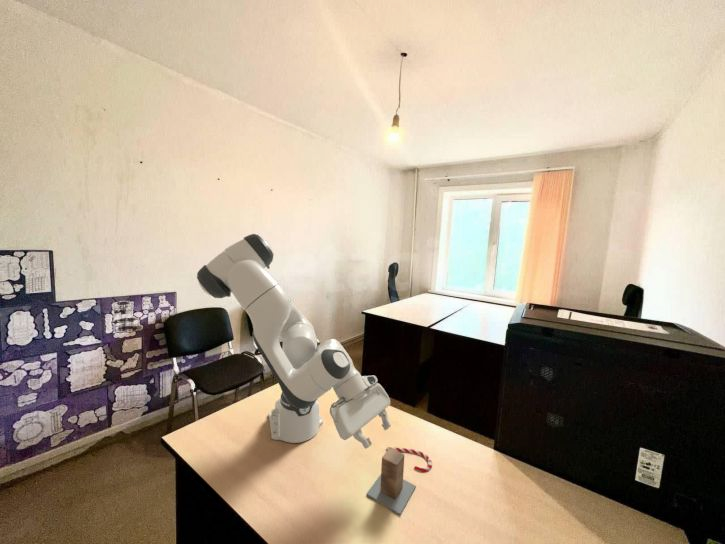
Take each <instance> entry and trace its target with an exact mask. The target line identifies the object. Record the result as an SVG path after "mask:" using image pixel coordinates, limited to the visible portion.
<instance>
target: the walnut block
mask: <svg viewBox="0 0 725 544" xmlns="http://www.w3.org/2000/svg"><path fill="white" fill-rule="evenodd" d="M380 469H381V470H380V471H381V472H380V474H381V487H380V491H381V492H382V493H384V494H386V495H387V496H389V497H391V498H393V499H394V500H395V499H396V498H397V496H398V495H399V493H400V491H401V490H402V488H403V479H404V473H405V472H404V469H405V453H403V452H398V451H396V450H394V449H392V448H389V449H388V451H387V450H386V452H385V453H384V454H383V455H382V456H381V468H380Z"/></svg>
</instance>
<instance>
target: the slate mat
mask: <svg viewBox="0 0 725 544" xmlns="http://www.w3.org/2000/svg"><path fill="white" fill-rule="evenodd" d="M380 487H381V473H380V475H379V476H378V477H377V479H376V480H375V481H374V483H373V484H372V485H371V487H370V488H369V489H368V491H367V492H366V496H367V497H369V498H371V499H372V500H374V501H375V502H377V503H379V504H381V506H384V507H386V508H387V509H389V510H391V511H392V512H394V513H396V515H399V516H401V515H402V513H403V511H404V509H405V508H406V506H407V504H408V502H409V501H410V498H411V497H412V495H413V493H414V491H415V489H416V487H417V486H416V485H415V484H413V483H411V482H410V481H407V480H406V479H404V478H403V488H402V490H401V491H400V493H399V495H398V496H397V498H396V499H395V500H394V499H393V498H391V497H389V496H387V495H386V494H384V493H382V492H381V491H380Z"/></svg>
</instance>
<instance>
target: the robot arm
mask: <svg viewBox="0 0 725 544" xmlns="http://www.w3.org/2000/svg"><path fill="white" fill-rule="evenodd" d="M273 260H274V252H273V249H272V246H271V245H270V243H269V242H268V241H267V240H266V239H265V238H263V237H262V236H260V235H259V234H256V233H252V234H249V235H247V236H244V237H243V239H241V240H239V241H236V242H235V243H233V244H231V245H229V246H228V247H227V248H225V249H224V250H223V251H222V252H220V253H218V255H217V256H215V257H214V258H213V259H211V260H210V261H209V262H208V263H207V264H203V266H202V267H201V268H200V269H199V270H198V271H197V273H196V279H197V281H198V284H199V287H200V288H201V289H202V291H203V292H204V293H206V294H208V295H209V296H211V297H213V298H215V299H223V298H226V297H228V298H230V297H232V296H231V294H232V295H233V296H234V298H235V299H236V301H237V302H238V303H239V305H240V306H241V307H242V308H243V310H244V311H245V312H246V313H247V315H248V316H249V318H250V321H251V324H252V329H253V331H252V333H251V334H252V335H251V336H252V339H253V341H254V344H255V346H256V348H257V350H258V351H259V353H260V355H261V357H262V359H263V360H264V361H265V364H266V365H267V367H268V368H269V370H270V371H271V373H272V375H273V376H274V378H275V380H276V381H277V383H278V385H279V388H280V390H281V394H280V398H279V399H278V400H276V401H275V403H274V408H273V409H271V411H270V412H269V413H268V422H269V428H270V429H269V430H270V437H271V439H272V440H275V441H283V442H286V443H291V444H294V443H295V444H297V443H298V444H299V443H303V442H306V441H308V440H311V439H312V438H313V437H315V436H316V435H317V433H318V432H319V428H320V426H322V424H323V423H324V421H323V420H324V419H323V418H322V417H321V415H320V403H319V402H318V399H319V398H321V397H322V396H324V395H325V394H326V393H328V392H329V391H331V389H333V391H334V392H335V395H336V397H337V399H338V400H337V401H335V402H333V403H332V404H331V405H330V408H329V414H330V416H331V419H332V420H333V423H334V427H335V429H336V432H337V434H338V436H339V437H340V439H341V440H344V441H346V440H348V439H350V438H351V437H353V438H354V439H355V440H356V441H357V442H359V443H361V445H362V446H363V449H365V450H366V449H368V448H369V447H371V446H372V441H371V440H370V437H367V438H366V437H365V436H364V435H363V432H362V428H364V427H365V426H366V425H368V424H369V423H370V422H371V421H372V420H373V419H375V418H376V417H377V416H378V417H379V418H381V421H382V424H381V427H382V428H383V430H384V431H387V430H388V429H389V428H391V425H392V424H391V423H390V421H389V418H388V417H389V416H388V412H387V410H386V408H387V409H388V407H389V406H391V398H390V397H389V394H388V393H387V392H386V390H385V388H384V387H383V386H382V385H381V384H380V383H379V382H378V378H377V376H376V375H361V372H359V371H358V370H357V369H356V367H355V366H354V362H353V359H352V358H351V357H350V355H349V353H348V352H347V351H346V349H345V348H344V347H343V345H342V344H341V343H340V342H339V341H338V340H337V339H335V338H330V339H326V340H324V341H322V342H320V343H319V344H318V341H317V335H316V332H315V327H314V326H313V324H312V322H311V321H310V320H308V318H307V317H306V315H304V314H303V312H301V311H300V310H299V309H298V308H297V307H296V306H295V305H294V304H293V303H292V302H291V298H290V296H289V294H288V293H287V291H286V290H285V288H284V287H282V285H281V284H280V282H278V280H276V278H275V277H274V276H273V275H272V274H271V273H270V272H269V271H268V270H270V265H271V264H272V262H273ZM267 269H268V270H267ZM280 339H281V341H282V347H281V344H280Z"/></svg>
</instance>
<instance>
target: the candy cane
mask: <svg viewBox="0 0 725 544" xmlns="http://www.w3.org/2000/svg"><path fill="white" fill-rule="evenodd" d="M389 448H392V449H394V450H396V451H398V452H400V453H404V454H406V453H407V454H413V455H418V456H419V457H422V458H423V459H424V460H426V462H427V465H426V466H425V467H419V466H417V465H415V466H414V468H413V469H414V471H417V472H421V473H426V472H429V471H430V470H431V469H432V466H433V462H432V460H431V457H429V456H428V455H427V454H426V453H424V452H422V451H419V450H416V449H414V448H413V449H412V448H405V447H396V446H395V447H392V446H391V447H390V446H389V447H386V452H387V451H388V449H389Z"/></svg>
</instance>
